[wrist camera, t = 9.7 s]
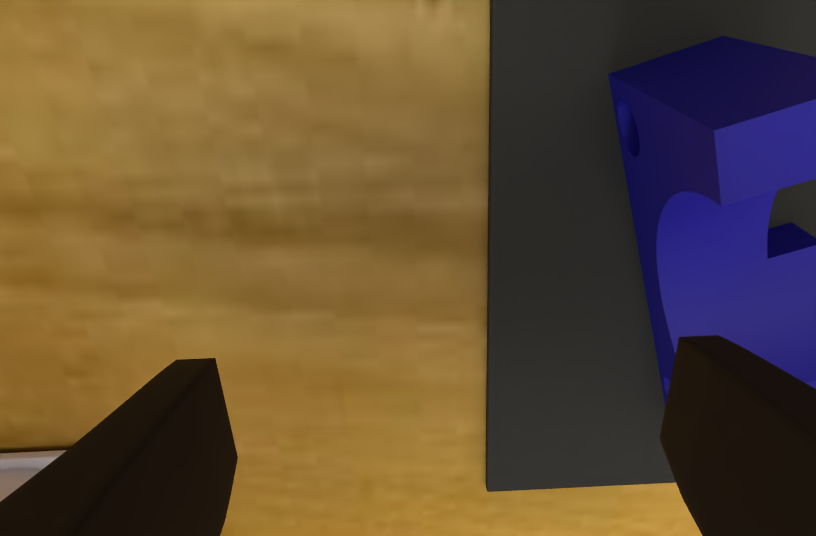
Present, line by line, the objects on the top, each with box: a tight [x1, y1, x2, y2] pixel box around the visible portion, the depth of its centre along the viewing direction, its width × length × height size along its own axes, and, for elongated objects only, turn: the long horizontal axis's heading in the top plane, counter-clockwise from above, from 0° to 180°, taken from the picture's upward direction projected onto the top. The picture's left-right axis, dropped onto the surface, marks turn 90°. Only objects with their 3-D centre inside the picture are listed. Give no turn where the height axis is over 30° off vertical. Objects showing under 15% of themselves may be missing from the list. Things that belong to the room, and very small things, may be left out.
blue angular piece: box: [608, 36, 816, 407], centre depth 16 cm, size 12×4×6 cm, turn 18°
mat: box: [486, 0, 816, 492], centre depth 18 cm, size 20×16×1 cm
